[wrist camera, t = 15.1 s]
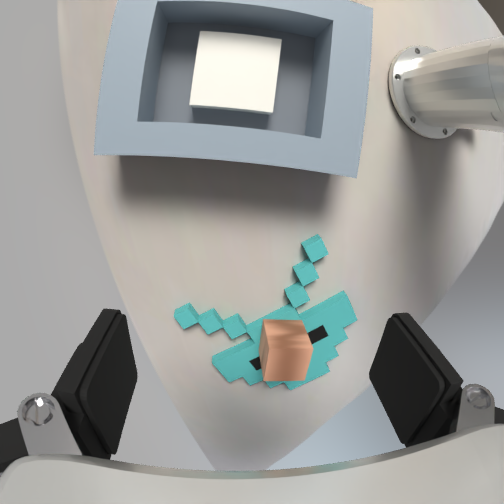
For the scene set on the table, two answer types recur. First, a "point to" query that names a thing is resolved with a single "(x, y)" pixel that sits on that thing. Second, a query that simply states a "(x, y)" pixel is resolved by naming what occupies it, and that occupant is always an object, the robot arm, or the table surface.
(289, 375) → the terracotta cube
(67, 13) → the table surface
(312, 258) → the alien figure
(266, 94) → the slot box
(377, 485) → the robot arm
